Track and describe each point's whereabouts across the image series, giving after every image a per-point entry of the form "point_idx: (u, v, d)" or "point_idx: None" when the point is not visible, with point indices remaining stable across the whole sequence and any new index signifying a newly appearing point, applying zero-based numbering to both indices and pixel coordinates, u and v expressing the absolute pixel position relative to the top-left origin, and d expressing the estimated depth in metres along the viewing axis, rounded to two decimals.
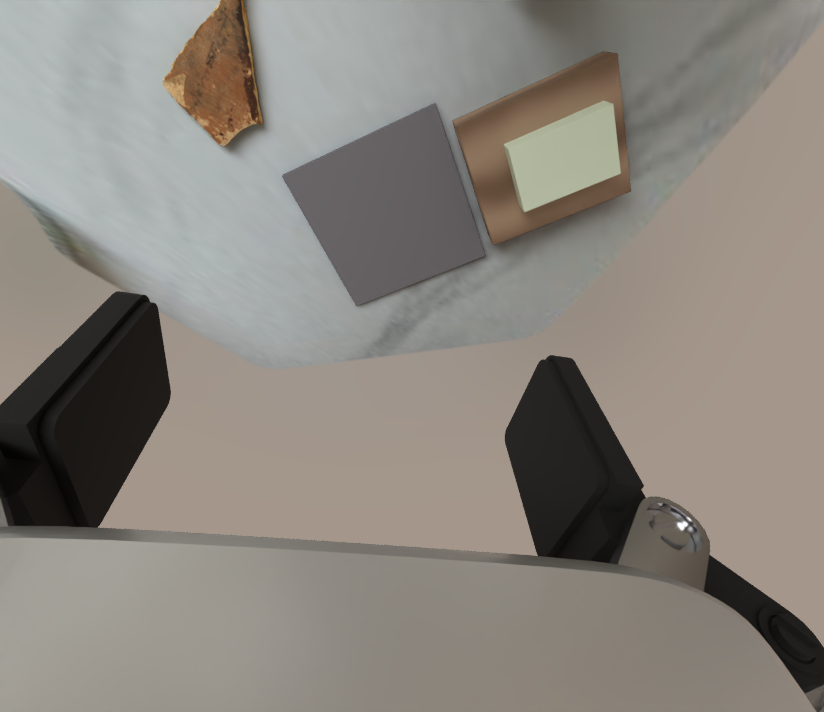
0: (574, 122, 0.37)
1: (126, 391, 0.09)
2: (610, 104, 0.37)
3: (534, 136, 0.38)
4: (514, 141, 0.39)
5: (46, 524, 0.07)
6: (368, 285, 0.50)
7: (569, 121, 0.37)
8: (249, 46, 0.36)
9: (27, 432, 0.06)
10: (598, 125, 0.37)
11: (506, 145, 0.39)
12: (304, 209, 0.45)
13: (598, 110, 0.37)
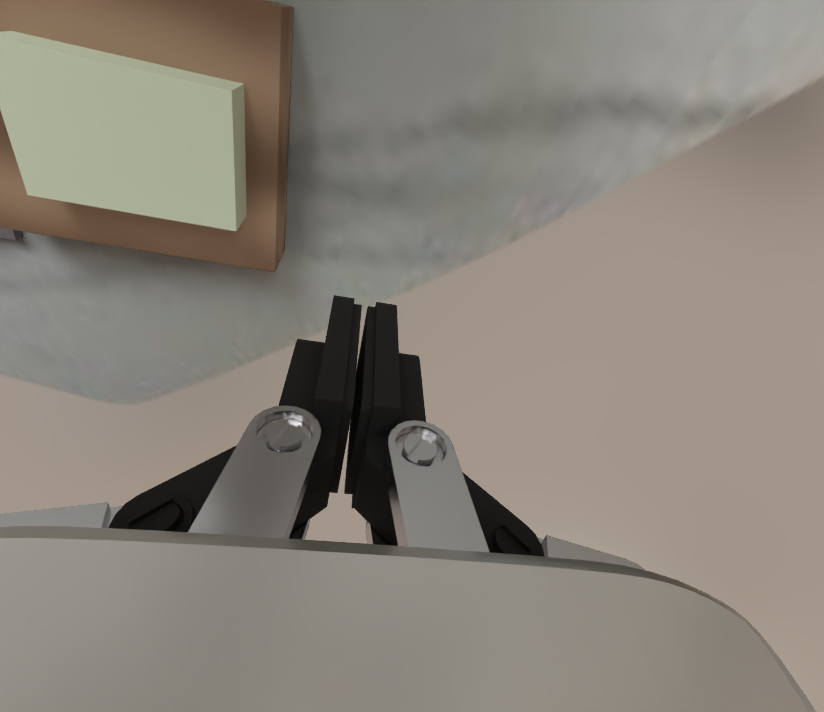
0: (145, 75, 0.17)
1: None
2: (228, 89, 0.18)
3: (55, 49, 0.17)
4: (28, 37, 0.17)
5: None
6: None
7: (138, 68, 0.17)
8: None
9: (338, 407, 0.08)
10: (198, 115, 0.18)
11: (4, 32, 0.17)
12: None
13: (200, 83, 0.17)
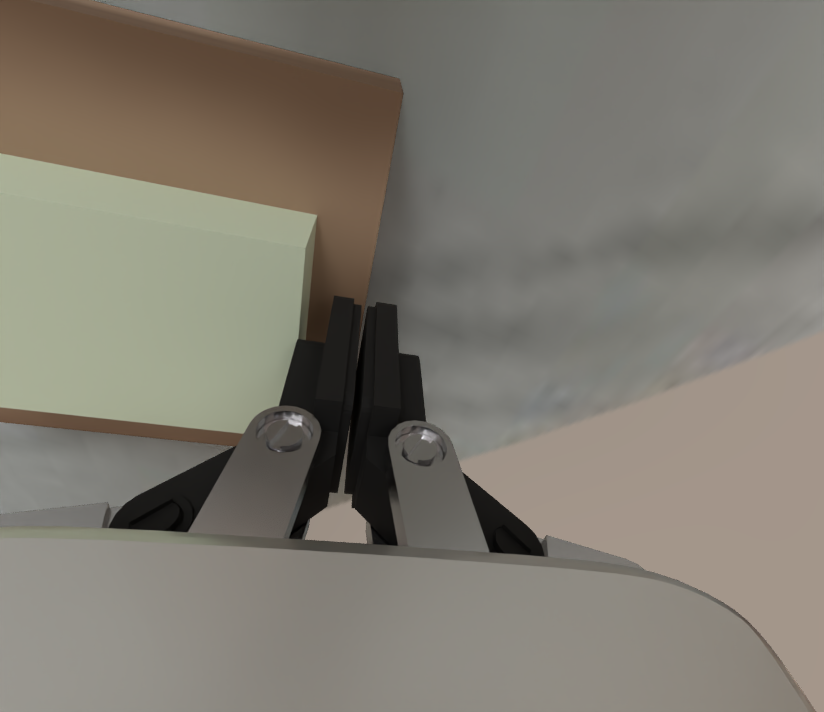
0: (140, 224, 0.09)
1: None
2: (299, 243, 0.09)
3: None
4: None
5: None
6: None
7: (128, 210, 0.09)
8: None
9: (338, 408, 0.08)
10: (239, 285, 0.10)
11: None
12: None
13: (246, 237, 0.09)
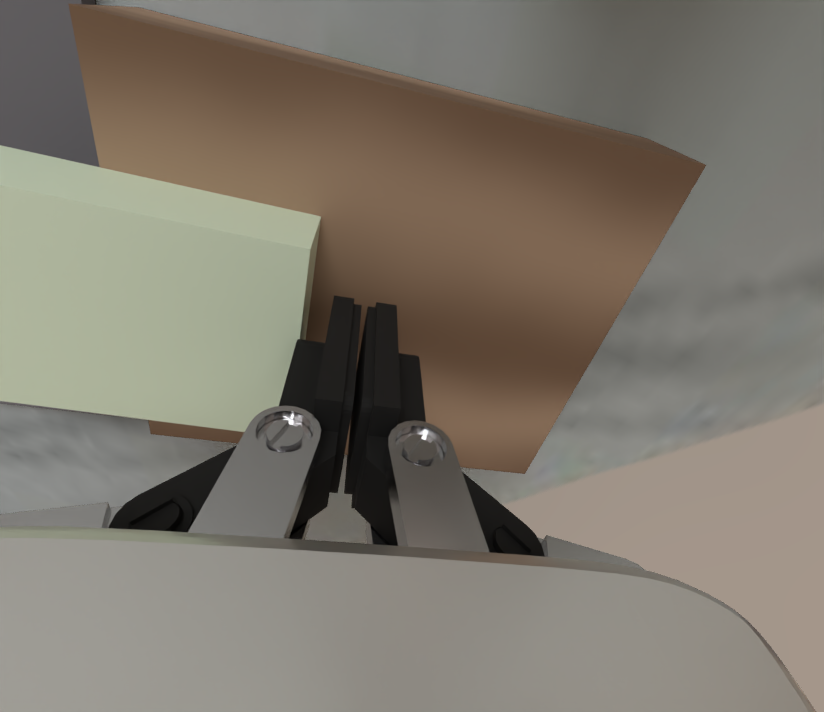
0: (146, 221, 0.09)
1: None
2: (304, 244, 0.10)
3: None
4: None
5: None
6: None
7: (134, 207, 0.09)
8: None
9: (338, 407, 0.08)
10: (242, 284, 0.10)
11: None
12: None
13: (252, 237, 0.09)
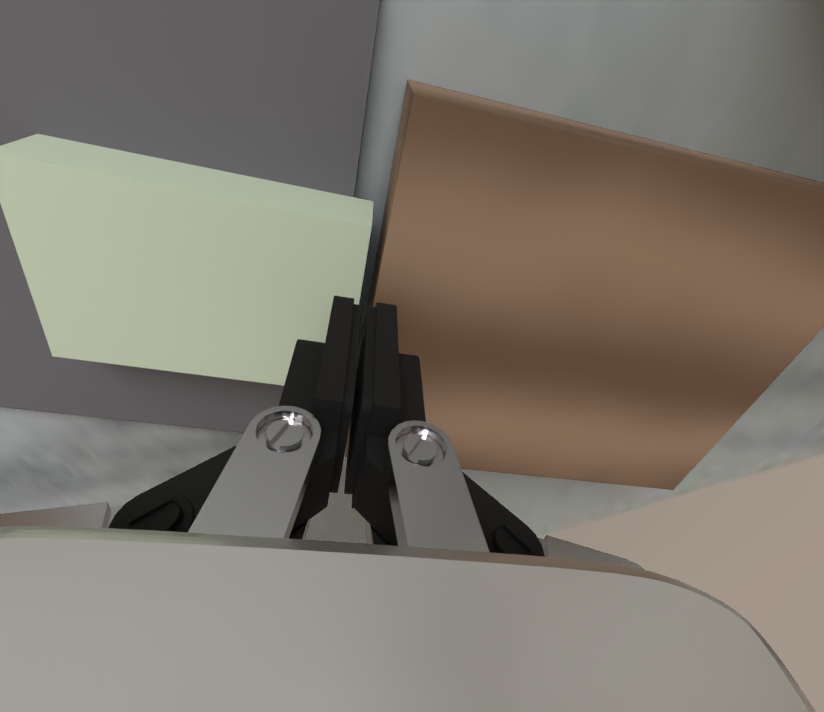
0: (243, 206, 0.11)
1: None
2: (366, 222, 0.12)
3: (107, 169, 0.11)
4: (63, 145, 0.11)
5: None
6: None
7: (233, 196, 0.11)
8: None
9: (338, 408, 0.08)
10: (315, 257, 0.12)
11: (26, 140, 0.11)
12: None
13: (325, 217, 0.11)
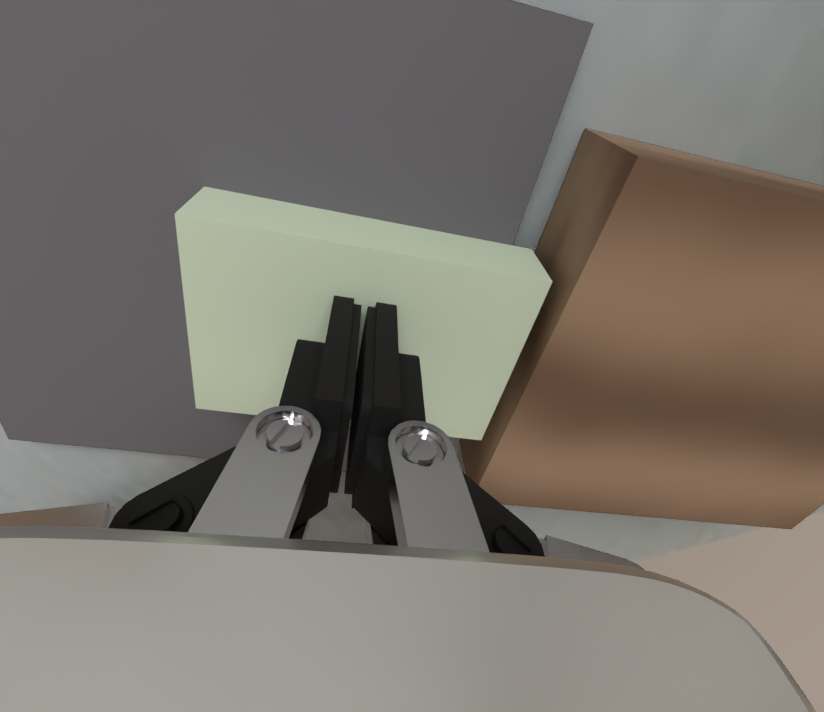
0: (426, 264, 0.11)
1: None
2: (544, 277, 0.11)
3: (290, 228, 0.10)
4: (235, 200, 0.11)
5: None
6: (70, 411, 0.16)
7: (415, 253, 0.11)
8: None
9: (338, 408, 0.08)
10: (486, 312, 0.12)
11: (200, 196, 0.11)
12: None
13: (507, 273, 0.11)
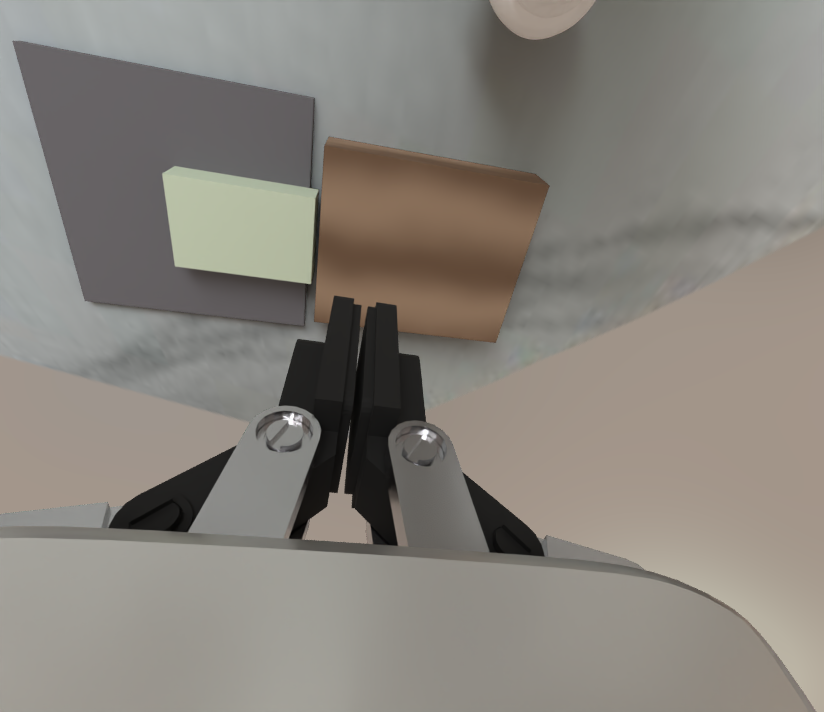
0: (261, 191, 0.27)
1: None
2: (313, 197, 0.28)
3: (207, 179, 0.27)
4: (186, 170, 0.27)
5: None
6: (116, 282, 0.32)
7: (257, 187, 0.27)
8: None
9: (338, 408, 0.08)
10: (292, 213, 0.28)
11: (172, 168, 0.27)
12: (39, 117, 0.26)
13: (295, 195, 0.27)
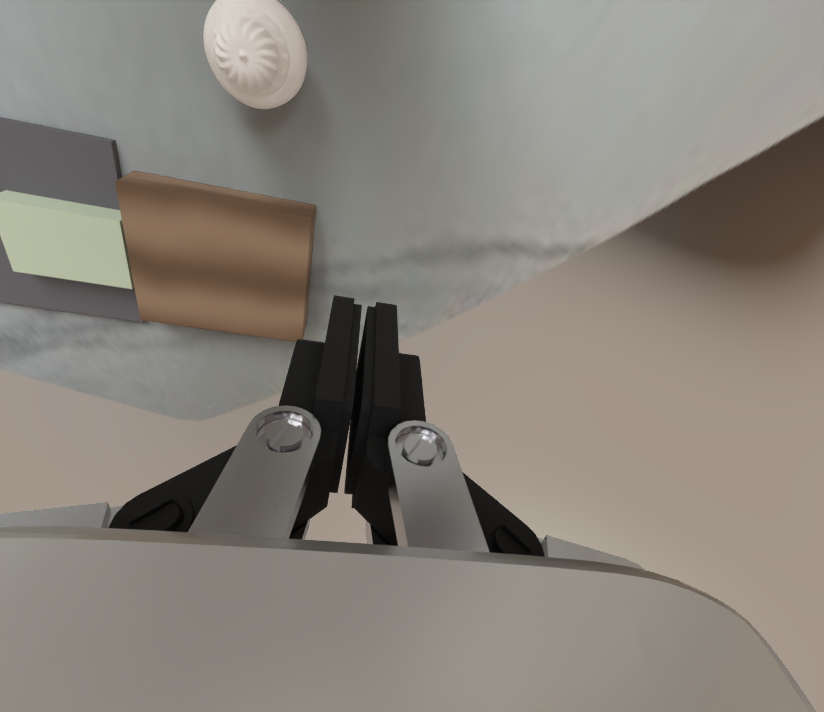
0: (73, 214, 0.33)
1: None
2: (118, 220, 0.34)
3: (27, 203, 0.33)
4: (14, 194, 0.34)
5: None
6: None
7: (70, 211, 0.33)
8: None
9: (338, 407, 0.08)
10: (103, 232, 0.34)
11: (1, 193, 0.33)
12: None
13: (102, 218, 0.34)
